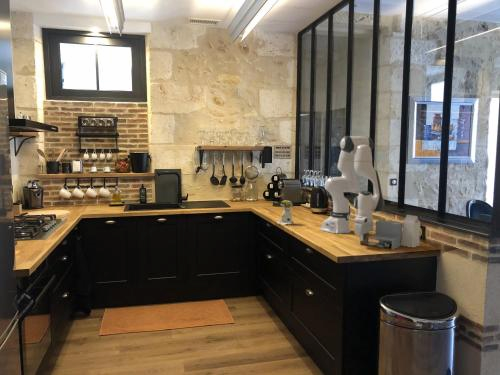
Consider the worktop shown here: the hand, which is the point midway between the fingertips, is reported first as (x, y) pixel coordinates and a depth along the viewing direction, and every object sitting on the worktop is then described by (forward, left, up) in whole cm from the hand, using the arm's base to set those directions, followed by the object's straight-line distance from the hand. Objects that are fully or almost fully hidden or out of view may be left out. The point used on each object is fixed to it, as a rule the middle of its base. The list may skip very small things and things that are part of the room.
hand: (364, 240), depth 249 cm
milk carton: (+23, +14, -3) cm, 28 cm away
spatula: (+7, +1, -2) cm, 7 cm away
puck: (+11, -1, -3) cm, 12 cm away
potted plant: (-75, +23, -3) cm, 79 cm away
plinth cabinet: (+12, +5, -3) cm, 13 cm away
